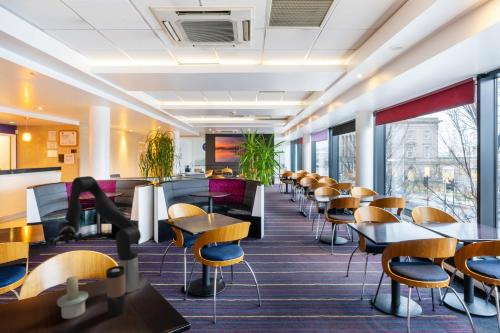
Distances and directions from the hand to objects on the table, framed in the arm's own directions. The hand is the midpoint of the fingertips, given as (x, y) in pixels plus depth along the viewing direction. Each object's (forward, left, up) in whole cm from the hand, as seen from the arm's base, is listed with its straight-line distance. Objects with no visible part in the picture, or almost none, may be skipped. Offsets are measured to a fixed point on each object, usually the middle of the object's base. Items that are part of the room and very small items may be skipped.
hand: (65, 242), depth 137 cm
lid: (-3, +17, -23) cm, 28 cm away
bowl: (-3, +17, -29) cm, 33 cm away
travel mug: (-20, +27, -29) cm, 44 cm away
